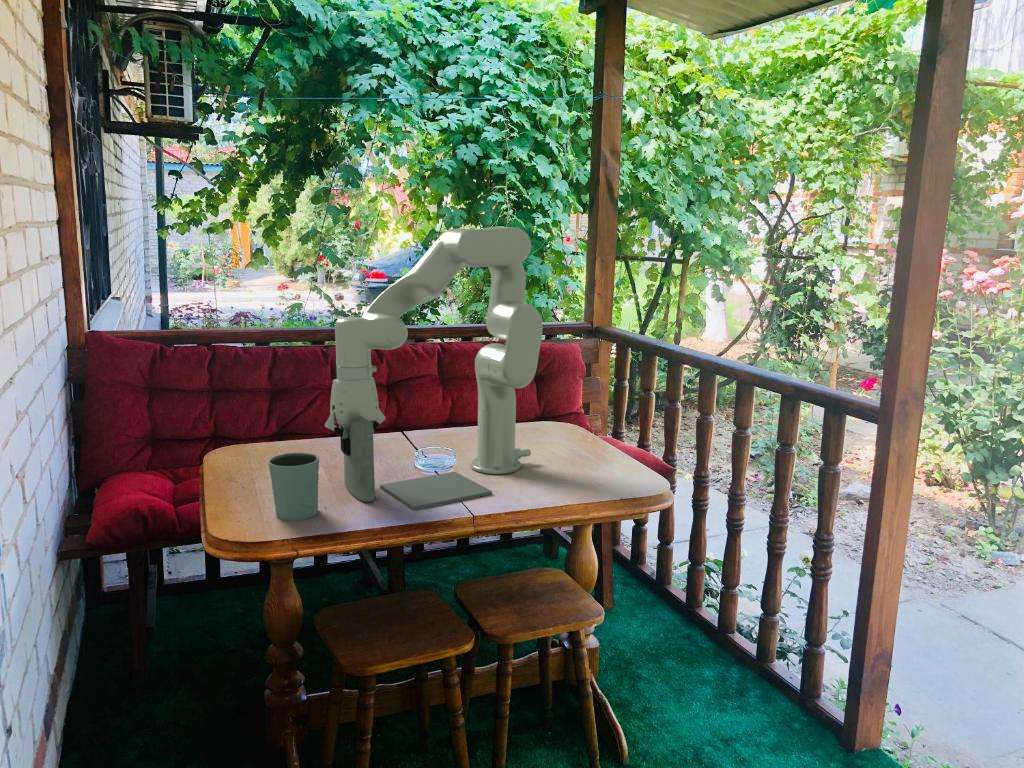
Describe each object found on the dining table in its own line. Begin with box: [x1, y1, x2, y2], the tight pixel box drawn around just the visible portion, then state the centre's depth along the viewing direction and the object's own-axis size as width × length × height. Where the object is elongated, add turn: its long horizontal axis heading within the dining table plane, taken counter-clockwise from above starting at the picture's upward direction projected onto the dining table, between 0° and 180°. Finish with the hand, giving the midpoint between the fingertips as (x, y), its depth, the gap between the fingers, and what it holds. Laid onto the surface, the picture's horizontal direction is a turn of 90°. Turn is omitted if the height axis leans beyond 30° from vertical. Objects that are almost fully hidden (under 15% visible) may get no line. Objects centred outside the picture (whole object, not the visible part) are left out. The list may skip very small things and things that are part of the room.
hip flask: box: [343, 418, 376, 503], centre depth 178 cm, size 16×4×20 cm, turn 27°
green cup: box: [267, 452, 320, 522], centre depth 165 cm, size 10×10×12 cm
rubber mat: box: [379, 471, 493, 511], centre depth 181 cm, size 20×17×1 cm
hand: (356, 451), depth 178 cm, fingers closed on hip flask, 4 cm apart
